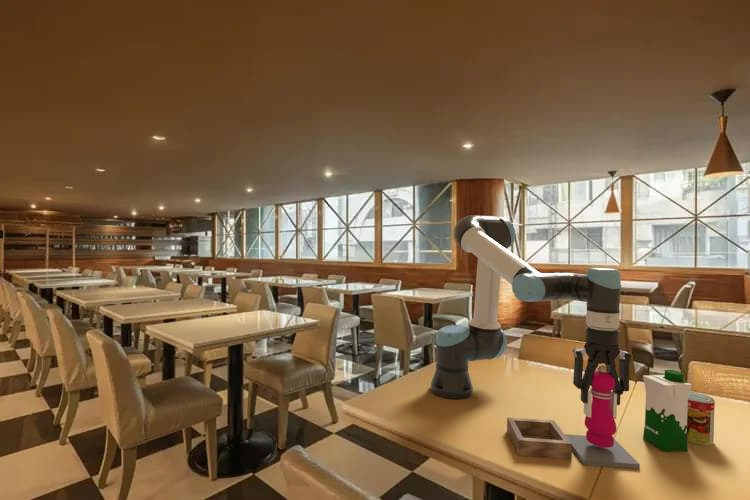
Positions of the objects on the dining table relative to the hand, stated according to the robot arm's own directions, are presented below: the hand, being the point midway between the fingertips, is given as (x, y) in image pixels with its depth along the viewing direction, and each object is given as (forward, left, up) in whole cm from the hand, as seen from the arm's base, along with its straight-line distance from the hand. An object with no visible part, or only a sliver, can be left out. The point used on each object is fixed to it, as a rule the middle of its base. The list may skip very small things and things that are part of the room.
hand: (599, 415), depth 101 cm
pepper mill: (0, 0, -7) cm, 7 cm away
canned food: (+31, +12, -10) cm, 35 cm away
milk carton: (+20, +7, -10) cm, 23 cm away
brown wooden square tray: (-15, +2, -10) cm, 18 cm away
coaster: (0, 0, -10) cm, 10 cm away
